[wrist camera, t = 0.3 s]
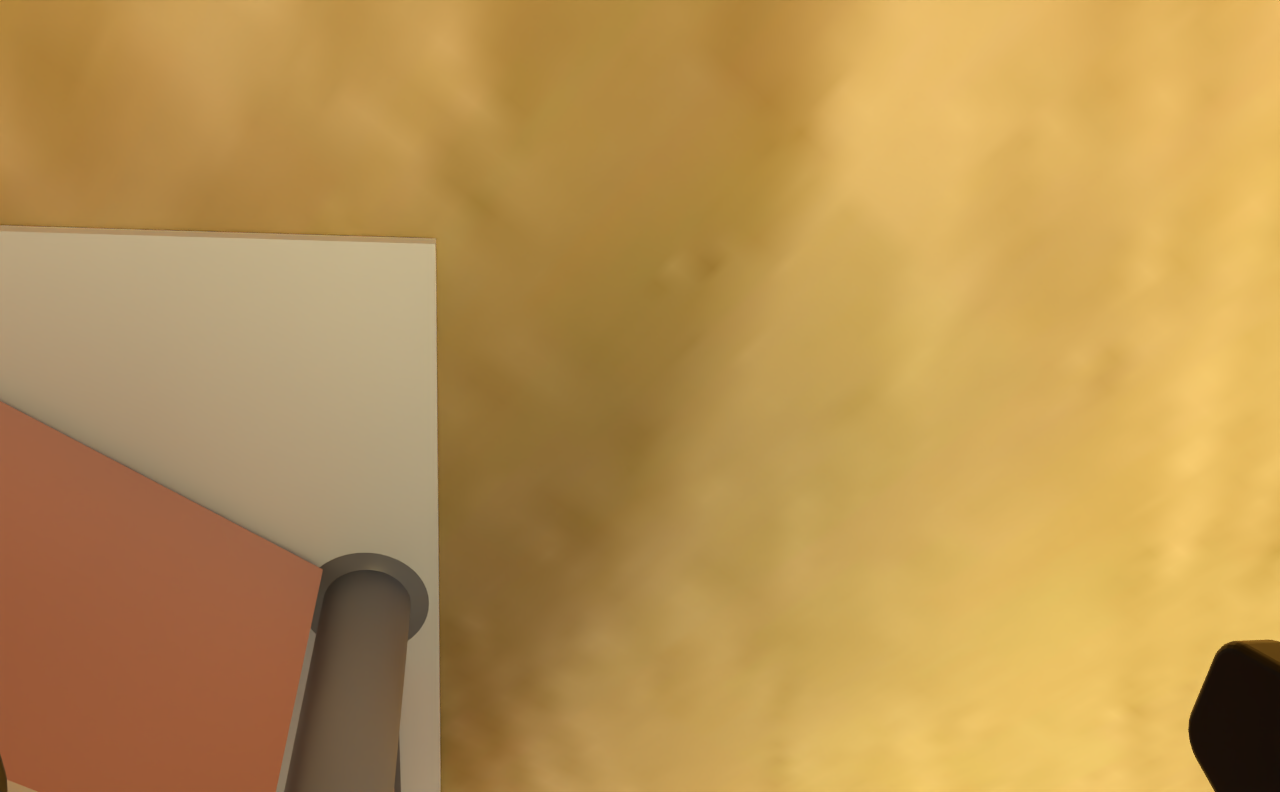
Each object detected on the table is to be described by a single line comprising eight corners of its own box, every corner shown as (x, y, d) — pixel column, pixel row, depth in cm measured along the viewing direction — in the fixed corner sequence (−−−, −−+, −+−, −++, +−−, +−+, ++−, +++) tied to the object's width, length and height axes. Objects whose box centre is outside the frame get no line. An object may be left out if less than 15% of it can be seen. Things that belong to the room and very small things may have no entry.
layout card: (-507, 209, 18) (-524, 216, 18) (436, 238, 20) (435, 244, 20) (-228, 886, 25) (-236, 899, 25) (441, 853, 27) (440, 865, 27)
